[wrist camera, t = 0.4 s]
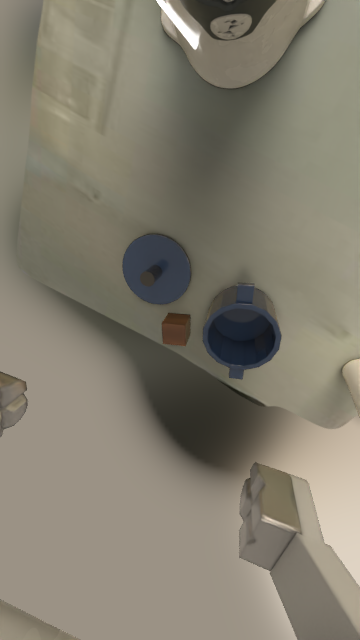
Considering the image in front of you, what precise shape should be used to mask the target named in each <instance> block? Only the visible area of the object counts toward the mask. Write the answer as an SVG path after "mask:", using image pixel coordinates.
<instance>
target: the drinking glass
mask: <svg viewBox="0 0 360 640" xmlns="http://www.w3.org/2000/svg"><path fill="white" fill-rule="evenodd" d="M342 375H343V377H344V379H345V381H346V383H347V386H348V388H349V391H350V393H351V396H352V399H353V401H354V404H355V407H356V409H357V412H358V415H359V417H360V359H355V360H352V361H349V362H348V363H346V364H345V365H344V367H343V369H342Z"/></svg>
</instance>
